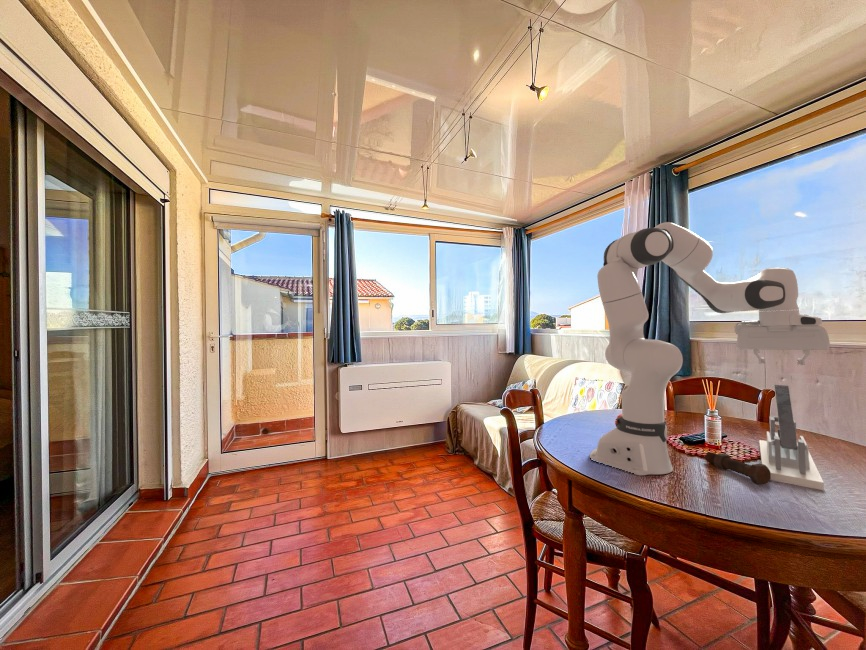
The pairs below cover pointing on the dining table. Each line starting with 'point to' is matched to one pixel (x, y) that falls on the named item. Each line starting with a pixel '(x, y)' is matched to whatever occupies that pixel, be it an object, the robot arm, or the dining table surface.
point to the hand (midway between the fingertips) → (780, 364)
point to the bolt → (740, 467)
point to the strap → (785, 417)
